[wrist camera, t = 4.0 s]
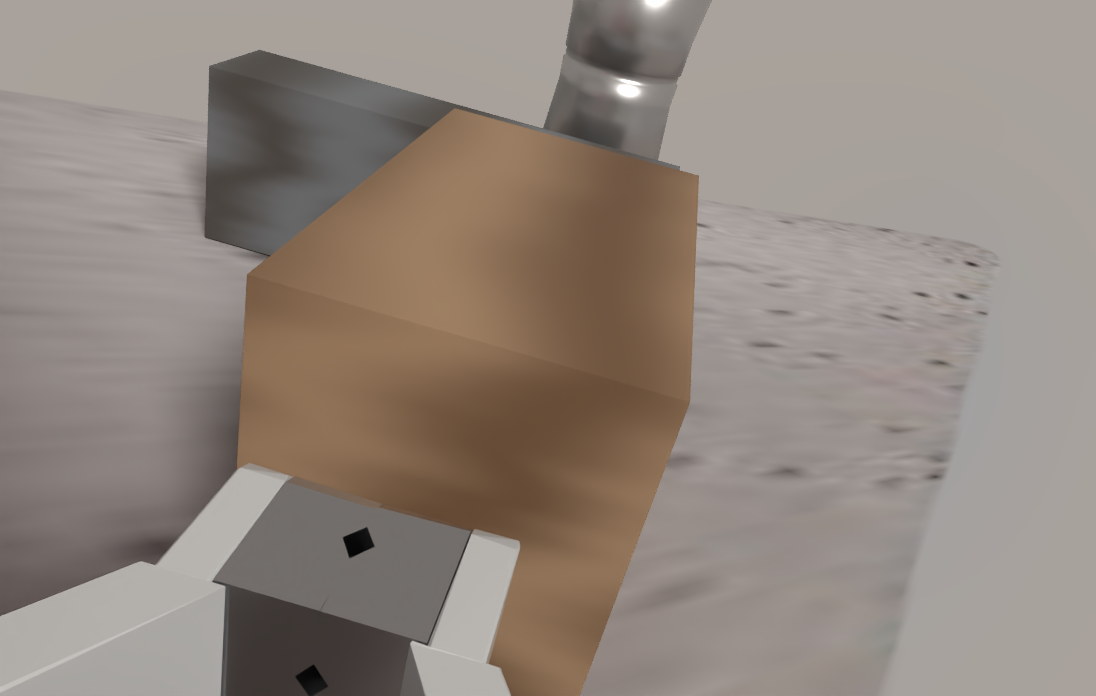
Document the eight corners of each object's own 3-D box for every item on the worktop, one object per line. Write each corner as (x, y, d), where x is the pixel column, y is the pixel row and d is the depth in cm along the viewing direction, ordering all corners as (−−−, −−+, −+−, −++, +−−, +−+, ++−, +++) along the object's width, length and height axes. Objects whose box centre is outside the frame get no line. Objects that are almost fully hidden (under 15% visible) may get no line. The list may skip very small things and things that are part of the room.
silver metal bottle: (594, 222, 46) (709, -198, 37) (659, 281, 41) (812, -187, 32) (488, 220, 43) (583, -241, 33) (545, 283, 38) (676, -236, 28)
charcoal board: (204, 236, 35) (209, 65, 31) (251, 206, 38) (259, 49, 35) (624, 357, 34) (676, 196, 31) (632, 315, 37) (679, 166, 34)
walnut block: (225, 693, 18) (246, 274, 13) (404, 400, 28) (454, 108, 23) (543, 792, 17) (689, 401, 13) (605, 459, 28) (698, 175, 23)
